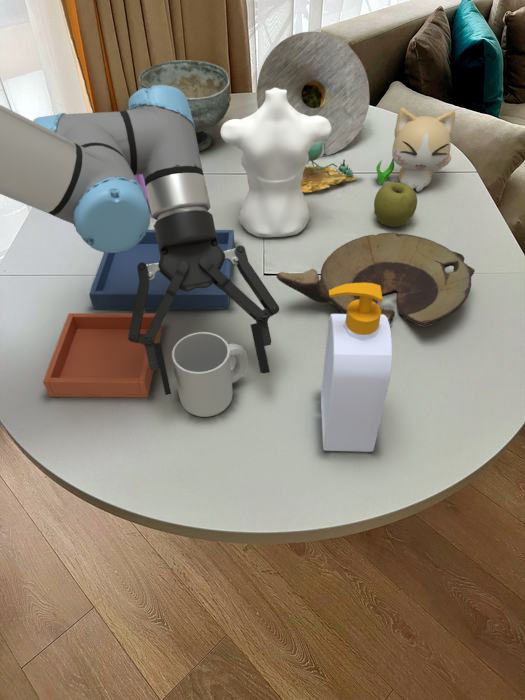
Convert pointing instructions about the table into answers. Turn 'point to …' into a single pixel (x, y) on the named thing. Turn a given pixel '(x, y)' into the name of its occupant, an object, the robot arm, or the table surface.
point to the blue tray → (122, 280)
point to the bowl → (194, 91)
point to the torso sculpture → (275, 163)
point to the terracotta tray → (99, 358)
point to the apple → (395, 204)
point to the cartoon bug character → (323, 172)
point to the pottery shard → (392, 276)
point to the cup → (206, 372)
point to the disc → (319, 83)
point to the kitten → (419, 148)
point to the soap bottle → (355, 371)
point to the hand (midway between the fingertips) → (217, 383)
